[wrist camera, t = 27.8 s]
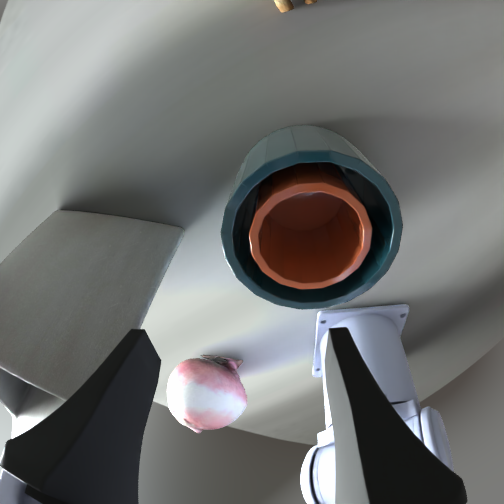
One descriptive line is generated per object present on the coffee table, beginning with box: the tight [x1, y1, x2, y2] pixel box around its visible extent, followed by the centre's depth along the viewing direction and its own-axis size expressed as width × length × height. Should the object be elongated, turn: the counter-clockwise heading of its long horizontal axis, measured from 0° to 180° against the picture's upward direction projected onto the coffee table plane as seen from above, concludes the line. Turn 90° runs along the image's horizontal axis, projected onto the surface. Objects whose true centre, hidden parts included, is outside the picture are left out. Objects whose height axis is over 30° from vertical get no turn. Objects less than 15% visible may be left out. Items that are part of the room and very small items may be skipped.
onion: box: [167, 355, 247, 433], centre depth 26 cm, size 8×8×7 cm
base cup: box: [221, 125, 403, 309], centre depth 15 cm, size 8×8×6 cm
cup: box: [249, 162, 372, 289], centre depth 15 cm, size 5×5×6 cm
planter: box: [0, 210, 184, 438], centre depth 14 cm, size 16×8×19 cm, turn 125°
